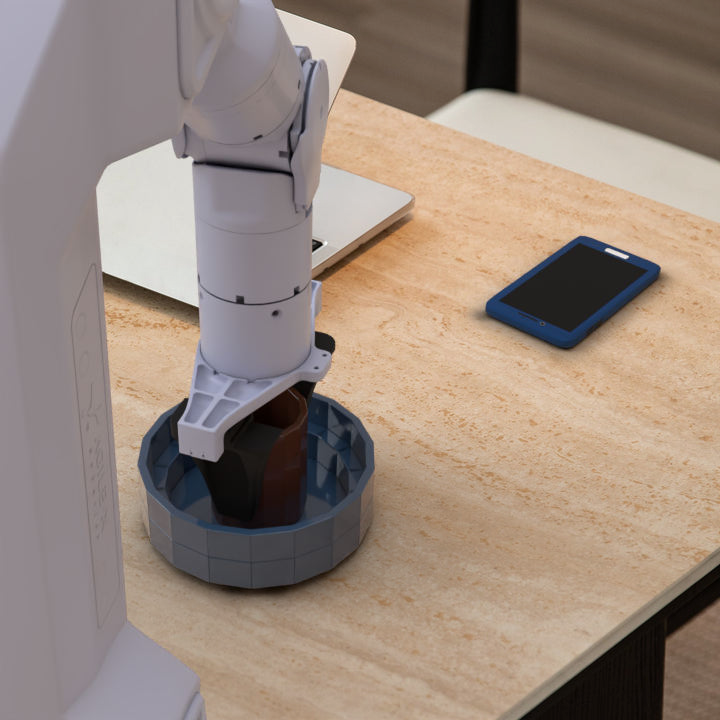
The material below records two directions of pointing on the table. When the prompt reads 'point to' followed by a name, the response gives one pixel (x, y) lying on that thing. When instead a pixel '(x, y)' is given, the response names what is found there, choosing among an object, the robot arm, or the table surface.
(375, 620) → the table surface
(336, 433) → the bowl
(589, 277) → the cell phone
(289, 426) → the cup
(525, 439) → the table surface
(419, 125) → the table surface
